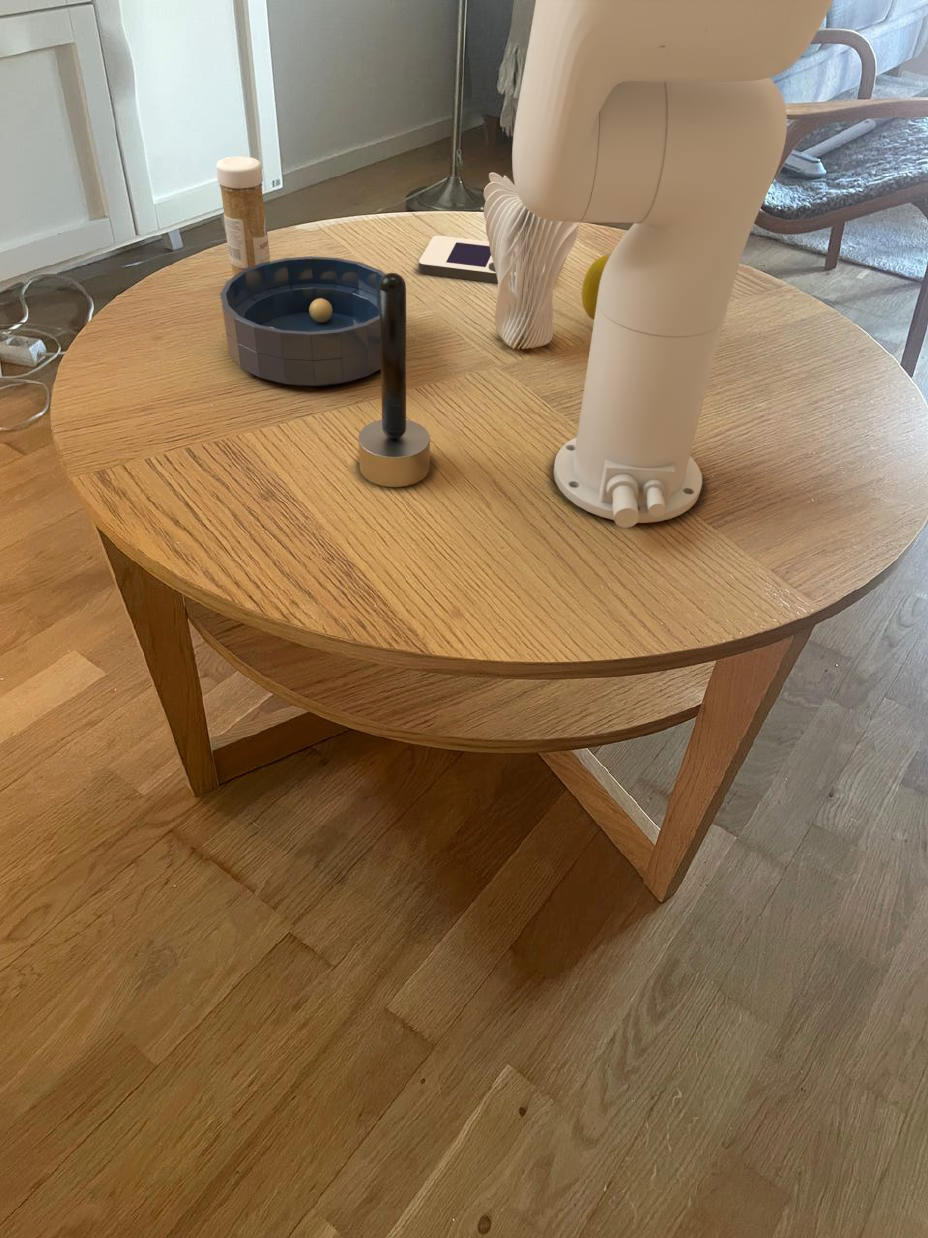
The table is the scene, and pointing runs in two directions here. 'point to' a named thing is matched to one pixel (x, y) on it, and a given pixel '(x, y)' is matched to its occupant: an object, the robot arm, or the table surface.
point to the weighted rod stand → (393, 403)
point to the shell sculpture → (524, 264)
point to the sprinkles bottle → (243, 211)
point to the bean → (320, 310)
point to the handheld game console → (459, 259)
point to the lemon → (593, 285)
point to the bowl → (304, 320)
